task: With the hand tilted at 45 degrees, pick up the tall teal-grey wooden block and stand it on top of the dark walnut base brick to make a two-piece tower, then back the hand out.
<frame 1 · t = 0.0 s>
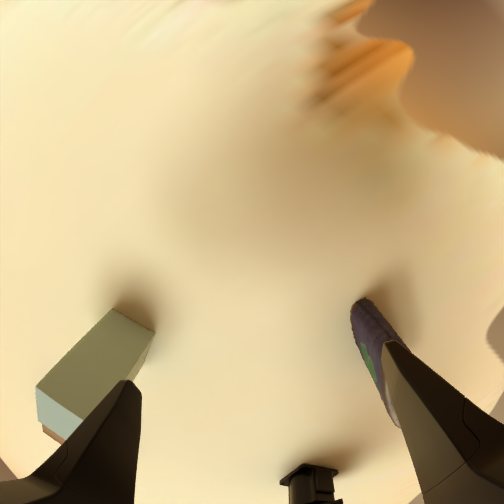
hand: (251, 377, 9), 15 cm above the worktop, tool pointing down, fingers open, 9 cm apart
flask: (369, 336, 26), on the worktop
tall block: (127, 338, 27), on the worktop
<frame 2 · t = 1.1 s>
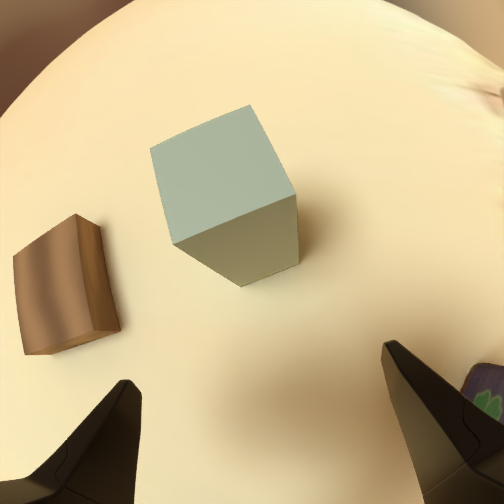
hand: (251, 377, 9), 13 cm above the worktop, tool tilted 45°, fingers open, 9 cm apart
flask: (463, 410, 17), on the worktop
tall block: (258, 247, 24), on the worktop
base brick: (70, 293, 26), on the worktop
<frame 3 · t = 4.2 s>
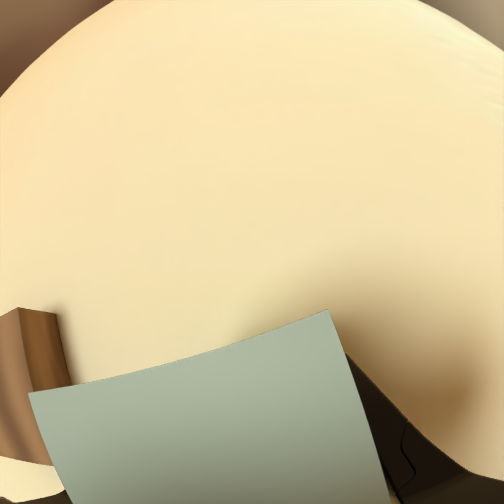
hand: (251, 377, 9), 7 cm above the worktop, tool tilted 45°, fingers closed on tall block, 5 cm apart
tall block: (274, 382, 15), on the worktop, touching gripper
base brick: (33, 390, 17), on the worktop
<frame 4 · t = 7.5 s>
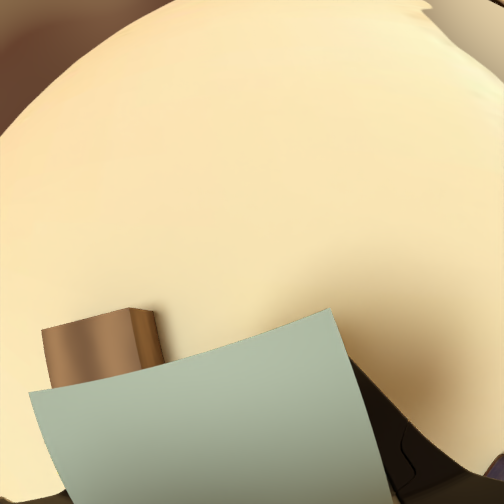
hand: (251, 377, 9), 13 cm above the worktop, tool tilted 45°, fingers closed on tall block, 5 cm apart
flask: (481, 488, 14), on the worktop
tall block: (275, 381, 15), point 7 cm above the worktop, touching gripper
base brick: (117, 379, 23), on the worktop
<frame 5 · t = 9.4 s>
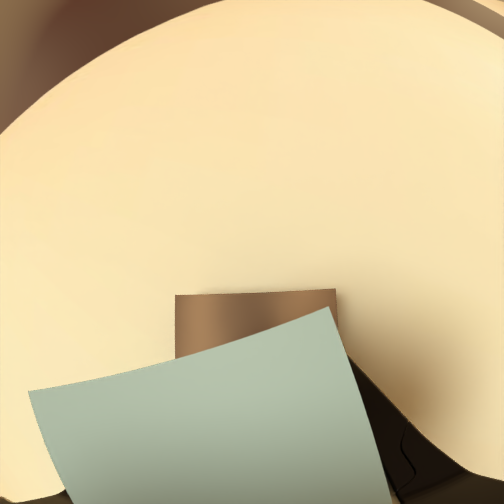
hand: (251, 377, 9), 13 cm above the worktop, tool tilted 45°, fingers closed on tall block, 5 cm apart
tall block: (274, 381, 15), point 7 cm above the worktop, touching gripper
base brick: (261, 367, 22), on the worktop
when the fingers open (11 cm above the worktop, at t = 10.7 s): tall block stays where it is, resting on base brick.
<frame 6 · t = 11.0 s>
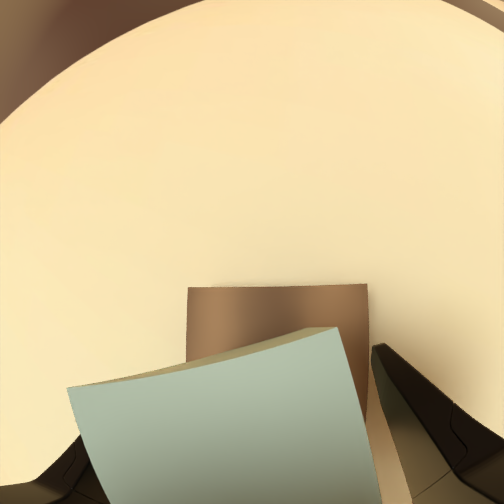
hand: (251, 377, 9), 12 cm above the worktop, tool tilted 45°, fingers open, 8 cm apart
tall block: (277, 380, 16), point 4 cm above the worktop, touching base brick
base brick: (279, 369, 20), on the worktop
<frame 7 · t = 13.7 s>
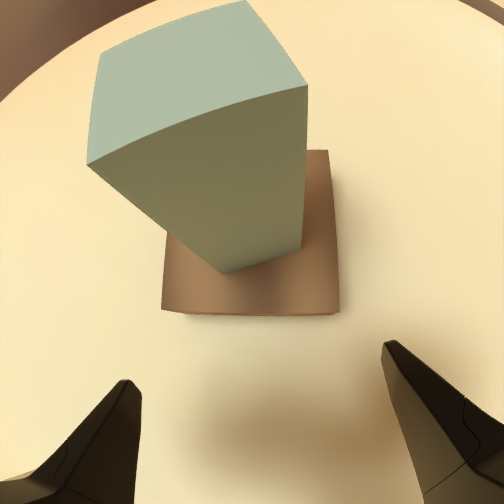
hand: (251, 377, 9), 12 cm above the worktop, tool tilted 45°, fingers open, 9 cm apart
tall block: (250, 225, 18), point 4 cm above the worktop, touching base brick
base brick: (255, 242, 22), on the worktop
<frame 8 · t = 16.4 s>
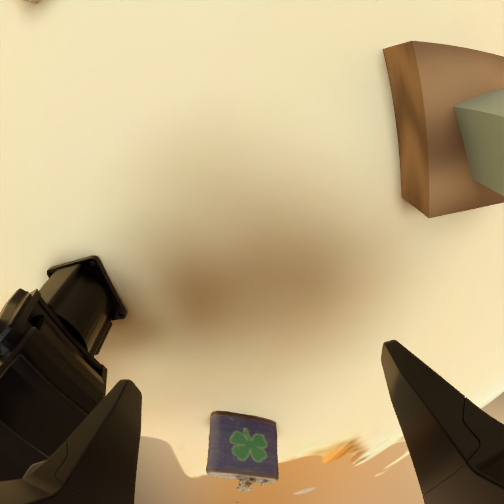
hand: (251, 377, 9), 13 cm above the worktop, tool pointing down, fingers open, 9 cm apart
flask: (245, 418, 34), on the worktop
tall block: (487, 132, 13), point 4 cm above the worktop, touching base brick
base brick: (454, 121, 16), on the worktop
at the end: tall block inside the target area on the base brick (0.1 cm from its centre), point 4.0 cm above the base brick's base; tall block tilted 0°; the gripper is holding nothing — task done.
